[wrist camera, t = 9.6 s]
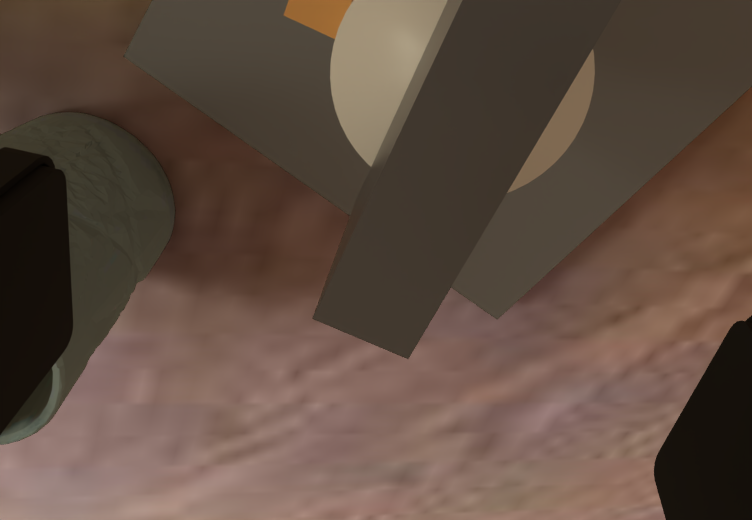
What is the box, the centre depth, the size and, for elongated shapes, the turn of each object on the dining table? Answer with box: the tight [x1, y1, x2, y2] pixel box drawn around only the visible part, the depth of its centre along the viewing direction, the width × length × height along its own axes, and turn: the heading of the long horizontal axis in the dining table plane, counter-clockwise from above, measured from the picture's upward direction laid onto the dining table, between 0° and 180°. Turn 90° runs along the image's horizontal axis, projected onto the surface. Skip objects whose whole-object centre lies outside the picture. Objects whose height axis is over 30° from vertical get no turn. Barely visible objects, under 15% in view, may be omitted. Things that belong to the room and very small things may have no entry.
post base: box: [123, 0, 752, 319], centre depth 25 cm, size 20×20×7 cm
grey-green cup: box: [0, 112, 175, 445], centre depth 30 cm, size 10×10×12 cm
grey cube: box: [284, 0, 621, 359], centre depth 18 cm, size 9×9×9 cm
